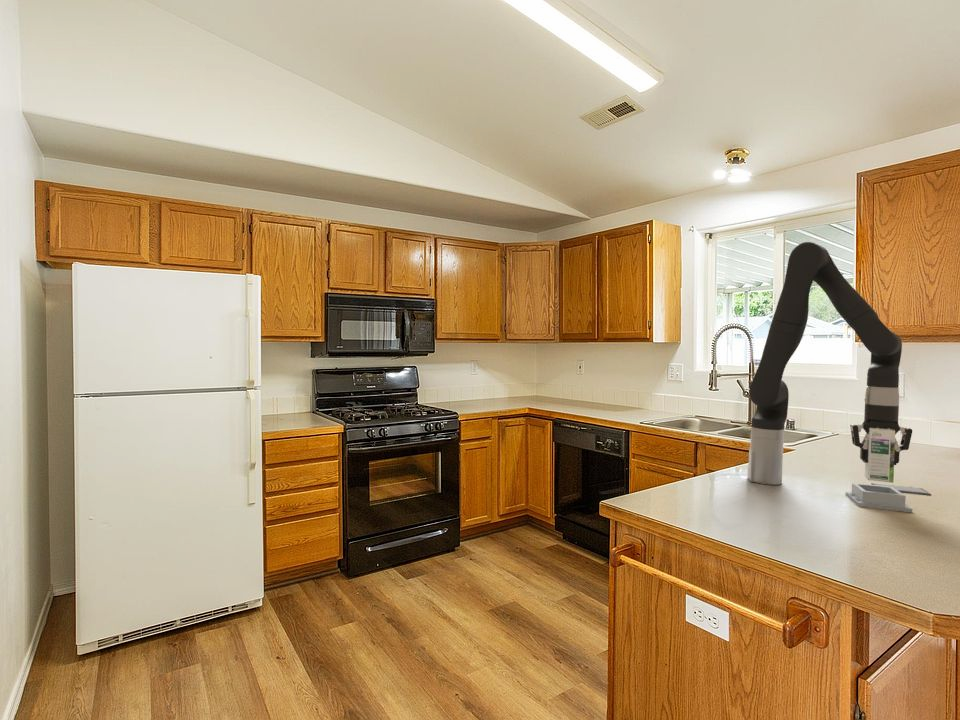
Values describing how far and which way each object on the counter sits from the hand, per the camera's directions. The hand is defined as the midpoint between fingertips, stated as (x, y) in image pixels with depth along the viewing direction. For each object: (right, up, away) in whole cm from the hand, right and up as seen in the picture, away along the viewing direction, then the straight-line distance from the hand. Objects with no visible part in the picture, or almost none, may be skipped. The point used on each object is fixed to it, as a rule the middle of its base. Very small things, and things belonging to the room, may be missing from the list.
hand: (879, 463), depth 147 cm
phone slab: (+18, -12, +16) cm, 27 cm away
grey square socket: (0, -11, 0) cm, 11 cm away
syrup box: (0, -5, 0) cm, 5 cm away
